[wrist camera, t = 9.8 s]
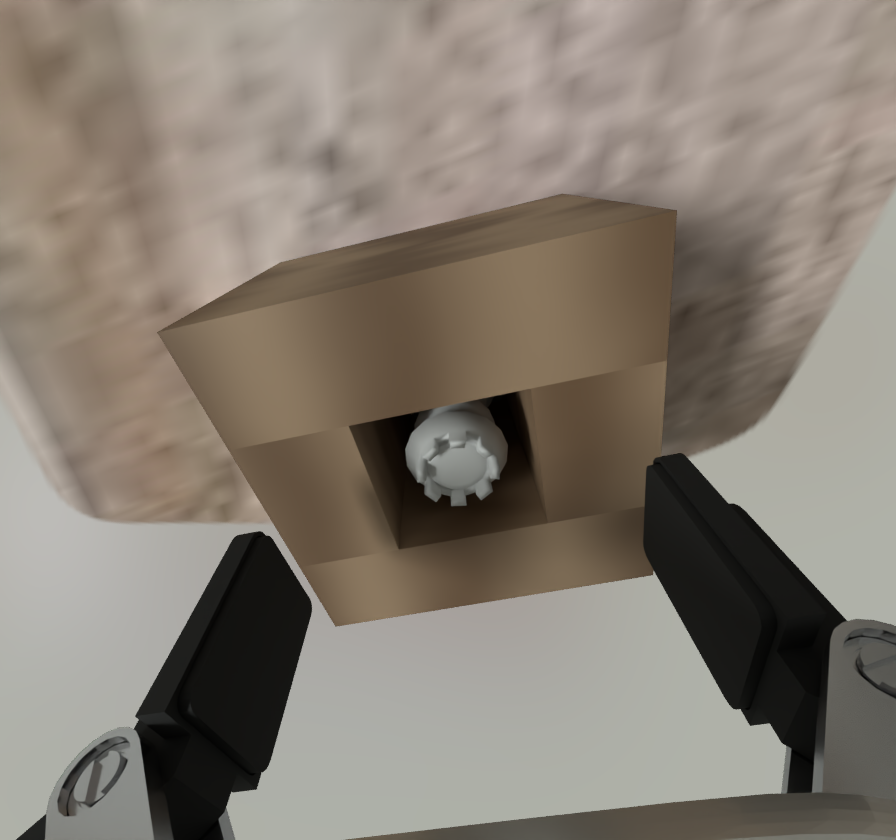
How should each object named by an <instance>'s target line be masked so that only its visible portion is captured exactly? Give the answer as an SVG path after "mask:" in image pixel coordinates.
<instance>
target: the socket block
mask: <svg viewBox="0 0 896 840" xmlns="http://www.w3.org/2000/svg"><path fill="white" fill-rule="evenodd" d="M676 216H677V210H670V209H663V208H656V207H649V206H642V205H635V204H629V203H622V202H615V201H608V200H601V199H594V198H587V197H580V196H573V195H566V194H560V195H556V196H552V197H548V198H544V199H540V200H536V201H532V202H527V203H523V204H519V205H515V206H511V207H507V208H503V209H499V210H495V211H490V212H486V213H482V214H478V215H474V216H470V217H466V218H462V219H458V220H454V221H449V222H445V223H441V224H437V225H433V226H429V227H425V228H421V229H417V230H412V231H408V232H404V233H400V234H396V235H392V236H388V237H384V238H380V239H376V240H371V241H367V242H363V243H359V244H355V245H351V246H347V247H343V248H339V249H334V250H330V251H326V252H322V253H318V254H314V255H310V256H306V257H302V258H298V259H293V260H289V261H285V262H281V263H279V264H277V265H275V266H273V267H272V268H270V269H268V270H266V271H265V272H263V273H261V274H259V275H258V276H256V277H254V278H252V279H251V280H249V281H247V282H245V283H243V284H242V285H240V286H238V287H236V288H235V289H233V290H231V291H229V292H228V293H226V294H224V295H222V296H221V297H219V298H217V299H215V300H214V301H212V302H210V303H208V304H206V305H205V306H203V307H201V308H199V309H198V310H196V311H194V312H192V313H191V314H189V315H187V316H185V317H184V318H182V319H180V320H178V321H176V322H175V323H173V324H171V325H169V326H168V327H166V328H164V329H162V330H161V331H159V332H157V333H158V334H159V336H160V338H161V339H162V341H163V343H164V344H165V346H166V348H167V349H168V351H169V353H170V354H171V356H172V357H173V359H174V361H175V362H176V364H177V366H178V367H179V369H180V371H181V372H182V374H183V376H184V377H185V379H186V381H187V382H188V384H189V386H190V387H191V389H192V390H193V392H194V394H195V395H196V397H197V399H198V400H199V402H200V404H201V405H202V407H203V409H204V410H205V412H206V414H207V415H208V417H209V418H210V420H211V422H212V423H213V425H214V427H215V428H216V430H217V432H218V433H219V435H220V437H221V438H222V440H223V442H224V443H225V445H226V447H227V448H228V450H229V451H230V453H231V455H232V456H233V458H234V460H235V461H236V463H237V465H238V466H239V468H240V470H241V471H242V473H243V475H244V476H245V478H246V480H247V481H248V483H249V484H250V486H251V488H252V489H253V491H254V493H255V494H256V496H257V498H258V499H259V501H260V503H261V504H262V506H263V508H264V509H265V511H266V512H267V514H268V516H269V517H270V519H271V521H272V522H273V524H274V526H275V527H276V529H277V531H278V532H279V534H280V536H281V537H282V539H283V541H284V542H285V544H286V545H287V547H288V549H289V550H290V552H291V554H292V555H293V557H294V559H295V560H296V562H297V564H298V565H299V567H300V568H301V570H302V572H303V574H304V575H305V577H306V578H307V580H308V582H309V583H310V585H311V587H312V588H313V590H314V592H315V593H316V595H317V597H318V598H319V600H320V602H321V603H322V605H323V606H324V608H325V610H326V611H327V613H328V615H329V616H330V618H331V620H332V621H333V623H334V625H335V626H342V625H348V624H355V623H361V622H367V621H373V620H379V619H385V618H392V617H398V616H404V615H409V614H416V613H421V612H428V611H435V610H441V609H447V608H453V607H459V606H465V605H472V604H477V603H483V602H489V601H496V600H502V599H508V598H515V597H520V596H527V595H532V594H539V593H545V592H552V591H558V590H564V589H569V588H576V587H582V586H589V585H595V584H601V583H607V582H613V581H619V580H625V579H632V578H638V577H644V576H650V575H653V568H652V566H651V564H650V562H649V561H648V559H647V557H646V554H645V551H644V547H643V531H644V508H645V485H646V468H647V466H649V465H653V460H654V459H655V458H657V457H661V447H662V431H663V416H664V401H665V385H666V370H667V355H668V339H669V324H670V308H671V293H672V278H673V262H674V247H675V232H676ZM502 394H506V395H505V396H501V398H502V401H497V402H492V403H491V404H490V405H489V406H488V407H487V408H488V409H489V411H490V413H491V415H492V417H493V419H494V422H495V425H496V426H497V427H498V428H500V429H501V431H502V433H503V436H504V438H505V440H506V442H507V444H508V451H507V462H506V464H505V466H504V468H503V469H502V471H501V473H500V480H499V479H495V480H494V481H492V482H491V484H492V490H493V492H491V493H490V494H489V495H488V496H486V497H485V498H484V499H483V500H480V498H479V497H478V496H477V495H476V492H475V493H472V494H469V495H466V504H467V506H451V498H450V496H447V495H444V494H441V497H440V498H439V499H438V501H437V502H435V501H434V500H432V499H431V498H429V497H428V496H426V495H425V494H424V488H425V486H424V485H423V484H421V483H420V482H418V483H417V480H416V479H415V478H414V476H413V475H412V473H411V471H410V470H409V468H408V467H407V462H406V452H405V448H406V446H407V443H408V441H409V439H410V436H411V434H412V432H413V431H414V430H415V427H414V425H415V422H416V420H417V418H414V414H413V415H411V413H414V412H419V411H424V410H429V409H434V408H439V407H443V406H448V405H453V404H458V403H463V402H468V401H473V400H478V399H483V398H487V397H492V396H497V395H502Z"/></svg>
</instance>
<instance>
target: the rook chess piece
mask: <svg viewBox="0 0 896 840" xmlns="http://www.w3.org/2000/svg"><path fill="white" fill-rule="evenodd" d="M493 398H494V396H492V397H487V398H483V399H478V400H473V401H468V402H463V403H458V404H453V405H448V406H443V407H439V408H434V409H429V410H424V411H419V412H418V413H419V415H418V417H417V420H416V422H415V425H414V427H415V430H414V431H413V432H412V434H411V436H410V439H409V441H408V443H407V446H406V448H405V452H406V462H407V467H408V468H409V470H410V471H411V473H412V475H413V476H414V478H415V479H416V480H417V483H418V482H420V483H421V484H423V485H424V486H425V488H424V494H425V495H426V496H428V497H429V498H431V499H432V500H434V501H435V502H437V501H438V499H439V498H440V497H441V494H444V495H447V496H450V498H451V506H467V504H466V495H469V494H472V493H475V492H476V495H477V496H478V497H479V498H480V500H483V499H484V498H485V497H486V496H488V495H489V494H490V493H491V492H493V490H492V484H491V482H492V481H494V480H495V479H499V480H500V473H501V471H502V469H503V468H504V466H505V464H506V462H507V451H508V444H507V442H506V440H505V438H504V436H503V433H502V431H501V429H500V428H498V427H497V426H496V425H495V422H494V419H493V417H492V415H491V413H490V411H489V409H488V408H487V407H488V406H489V405H490V404H491V402H492V400H493Z"/></svg>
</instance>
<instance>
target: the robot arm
mask: <svg viewBox="0 0 896 840" xmlns="http://www.w3.org/2000/svg"><path fill="white" fill-rule="evenodd" d="M643 547H644V551H645V554H646V557H647V559H648V561H649V562H650V564H651V566H652V568H653V570H654V571H655V573H656V575H657V577H658V579H659V580H660V582H661V584H662V586H663V587H664V589H665V591H666V593H667V594H668V597H669V598H670V600H671V602H672V604H673V606H674V607H675V609H676V611H677V612H678V614H679V616H680V618H681V620H682V622H683V623H684V625H685V627H686V629H687V631H688V633H689V634H690V636H691V638H692V640H693V641H694V643H695V645H696V647H697V649H698V650H699V652H700V654H701V656H702V658H703V659H704V661H705V663H706V665H707V667H708V668H709V670H710V672H711V674H712V676H713V677H714V679H715V681H716V683H717V684H718V686H719V688H720V690H721V692H722V694H723V695H724V697H725V699H726V700H727V702H728V703H729V705H730V706H731V707H732V708H733V709H741V711H742V712H743V714H744V716H745V718H746V719H747V721H748V723H749V724H750V726H752V725H760V724H767V723H770V724H771V726H772V728H773V729H774V731H775V733H776V734H777V736H778V737H779V739H780V741H781V742H782V743H783V744H784V745H786V756H785V764H784V774H783V783H782V792H781V794H763V795H751V796H741V797H729V798H718V799H708V800H696V801H684V802H673V803H665V804H655V805H646V806H638V807H629V808H619V809H610V810H600V811H591V812H582V813H574V814H564V815H555V816H546V817H537V818H529V819H519V820H511V821H502V822H493V823H485V824H476V825H468V826H458V827H450V828H441V829H433V830H425V831H415V832H407V833H398V834H390V835H381V836H372V837H364V838H356V839H348V840H896V626H894V625H891V624H887V623H883V622H879V621H875V620H863V619H855V620H850V621H847V620H846V619H845V618H844V617H843V616H842V615H841V614H840V613H839V612H838V611H837V610H836V608H835V607H834V606H833V605H832V604H831V603H830V602H829V601H828V600H827V599H826V598H825V597H824V595H823V594H821V592H820V591H819V590H818V589H817V588H816V587H815V586H814V585H813V584H812V583H811V581H809V579H808V578H807V577H806V576H805V575H804V574H803V573H802V572H801V571H800V570H799V568H798V567H797V566H796V565H795V564H794V563H793V562H792V561H791V560H790V559H789V558H788V557H787V556H786V555H785V553H784V552H783V551H782V550H781V549H780V548H779V547H778V546H777V545H776V544H775V543H774V542H773V540H772V539H771V538H770V537H769V536H768V535H767V534H766V533H765V532H764V531H763V530H762V529H761V528H760V527H759V525H758V524H757V523H756V522H755V521H754V520H753V519H752V518H751V517H750V516H749V515H748V513H747V512H746V511H745V510H743V509H742V508H741V507H740V506H738V505H736V504H728V503H727V502H726V501H725V500H724V498H723V497H722V496H721V495H720V494H719V493H718V492H717V490H716V489H715V488H714V487H713V486H712V485H711V484H710V483H709V481H708V480H707V479H706V478H705V477H704V476H703V475H702V474H701V473H700V472H699V470H698V469H697V468H696V467H695V466H694V465H693V464H692V463H691V461H690V460H689V459H688V458H687V457H686V456H685V455H684V454H681V453H678V454H673V455H667V456H662V457H657V458H655V459H654V460H653V465H649V466H647V468H646V485H645V508H644V531H643ZM311 612H312V605H311V601H310V598H309V597H308V595H307V594H306V592H305V591H304V589H303V588H302V586H301V584H300V582H299V581H298V579H297V578H296V576H295V575H294V573H293V571H292V570H291V568H290V566H289V565H288V563H287V562H286V560H285V559H284V557H283V555H282V554H281V552H280V550H279V549H278V547H277V546H276V544H275V542H274V541H273V539H272V538H271V537H270V536H266V535H265V534H264V533H263V532H260V531H259V532H253V533H248V534H243V535H237V536H236V537H235V538H234V539H233V540H232V542H231V544H230V545H229V547H228V549H227V551H226V553H225V555H224V556H223V558H222V560H221V562H220V564H219V565H218V567H217V569H216V571H215V573H214V574H213V576H212V578H211V580H210V582H209V583H208V585H207V587H206V589H205V591H204V593H203V594H202V596H201V598H200V600H199V602H198V603H197V605H196V607H195V609H194V611H193V612H192V614H191V616H190V618H189V620H188V621H187V624H186V626H185V627H184V629H183V631H182V632H181V635H180V636H179V638H178V640H177V641H176V643H175V645H174V647H173V649H172V650H171V652H170V654H169V656H168V658H167V659H166V661H165V663H164V665H163V667H162V669H161V670H160V672H159V674H158V676H157V678H156V680H155V681H154V683H153V685H152V687H151V688H150V690H149V692H148V694H147V696H146V698H145V700H144V701H143V703H142V705H141V707H140V708H139V710H138V712H137V714H136V717H137V718H138V719H139V721H138V723H137V724H136V726H135V728H134V729H132V728H130V727H120V728H117V729H114V730H111V731H109V732H107V733H105V734H103V735H102V736H100V737H99V738H97V739H95V740H94V741H93V742H92V743H90V744H89V745H88V746H87V747H86V748H85V749H83V750H82V751H81V752H80V753H79V754H78V755H77V756H76V758H75V759H74V760H73V761H72V762H71V763H70V764H69V766H68V767H67V768H66V770H65V771H64V773H63V774H62V775H61V777H60V779H59V780H58V781H57V783H56V785H55V787H54V790H53V792H52V794H51V796H50V798H49V803H48V807H47V812H46V815H44V816H43V817H42V818H41V819H40V820H39V821H37V822H36V823H35V824H34V825H33V826H32V827H30V828H29V829H28V830H27V831H26V832H25V833H24V834H22V835H21V836H20V837H19V838H17V839H16V840H235V837H234V833H233V830H232V826H231V823H230V819H229V816H228V812H227V809H226V806H227V802H228V800H229V796H230V794H231V791H232V792H239V791H247V790H256V789H257V786H258V783H259V779H260V776H261V772H264V771H265V770H266V769H267V767H268V765H269V763H270V760H271V756H272V753H273V749H274V746H275V742H276V739H277V735H278V731H279V728H280V724H281V721H282V717H283V714H284V710H285V706H286V703H287V699H288V696H289V692H290V689H291V685H292V681H293V678H294V674H295V671H296V667H297V663H298V660H299V656H300V653H301V649H302V646H303V642H304V639H305V635H306V631H307V628H308V624H309V620H310V617H311Z"/></svg>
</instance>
